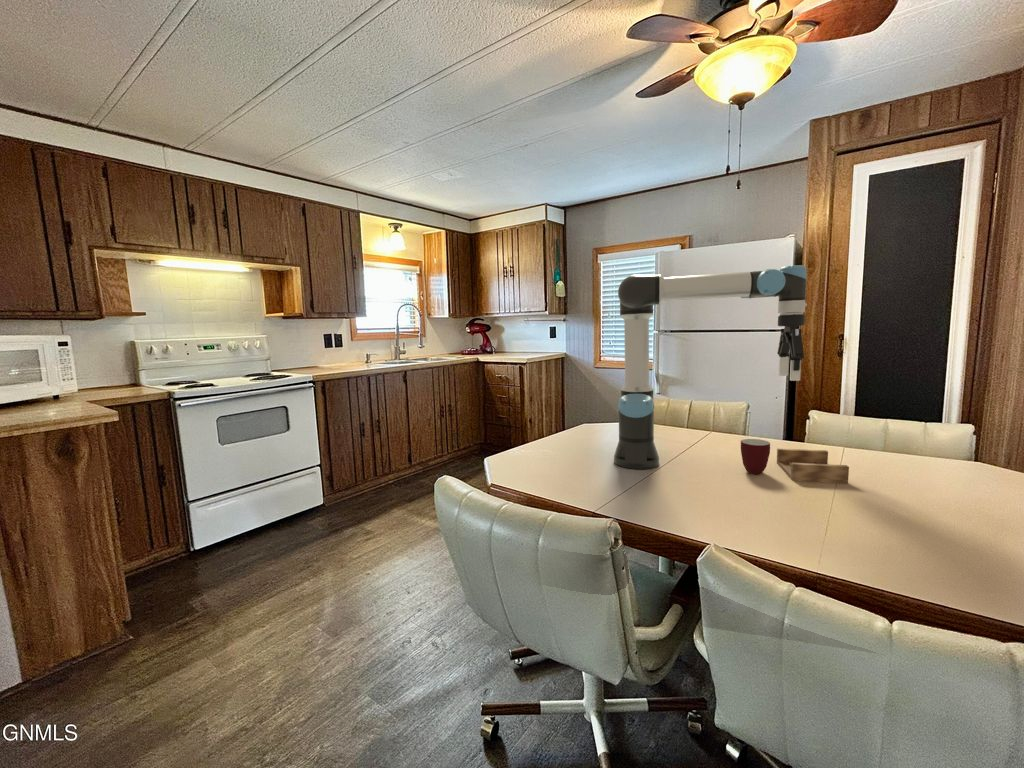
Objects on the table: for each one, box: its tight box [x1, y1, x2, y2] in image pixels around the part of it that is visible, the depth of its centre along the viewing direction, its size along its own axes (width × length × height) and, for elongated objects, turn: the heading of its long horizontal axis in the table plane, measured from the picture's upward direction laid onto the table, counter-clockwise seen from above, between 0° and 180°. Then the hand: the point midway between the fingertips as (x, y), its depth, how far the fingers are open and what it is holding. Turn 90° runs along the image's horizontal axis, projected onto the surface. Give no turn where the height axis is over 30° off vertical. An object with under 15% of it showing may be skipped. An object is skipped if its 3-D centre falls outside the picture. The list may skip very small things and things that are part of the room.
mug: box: [740, 438, 771, 476], centre depth 138 cm, size 10×8×10 cm
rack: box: [776, 448, 850, 484], centre depth 136 cm, size 14×17×5 cm
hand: (788, 378), depth 147 cm, fingers open, 13 cm apart
